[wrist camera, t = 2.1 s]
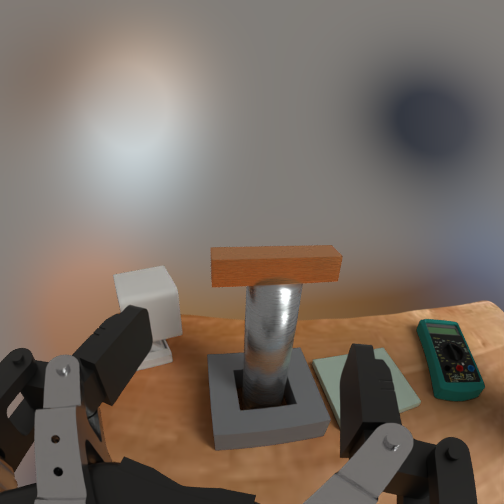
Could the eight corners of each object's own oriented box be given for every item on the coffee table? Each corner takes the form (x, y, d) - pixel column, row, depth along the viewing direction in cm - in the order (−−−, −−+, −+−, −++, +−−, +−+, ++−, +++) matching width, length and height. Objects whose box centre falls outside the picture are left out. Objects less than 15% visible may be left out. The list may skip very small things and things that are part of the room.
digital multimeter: (433, 404, 26) (444, 388, 24) (414, 330, 39) (420, 314, 38) (478, 402, 24) (489, 387, 23) (452, 334, 37) (458, 319, 36)
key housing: (296, 365, 32) (300, 347, 31) (323, 435, 23) (331, 419, 22) (208, 373, 31) (207, 354, 30) (215, 450, 22) (213, 435, 20)
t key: (298, 385, 30) (326, 240, 23) (308, 413, 26) (348, 262, 19) (215, 393, 28) (210, 242, 21) (219, 423, 24) (212, 267, 18)
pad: (381, 351, 34) (383, 347, 34) (418, 405, 25) (421, 401, 25) (311, 364, 33) (313, 359, 32) (341, 430, 24) (343, 426, 23)
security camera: (186, 360, 32) (178, 289, 28) (130, 374, 29) (110, 302, 25) (171, 330, 37) (163, 263, 33) (121, 341, 34) (105, 273, 30)
